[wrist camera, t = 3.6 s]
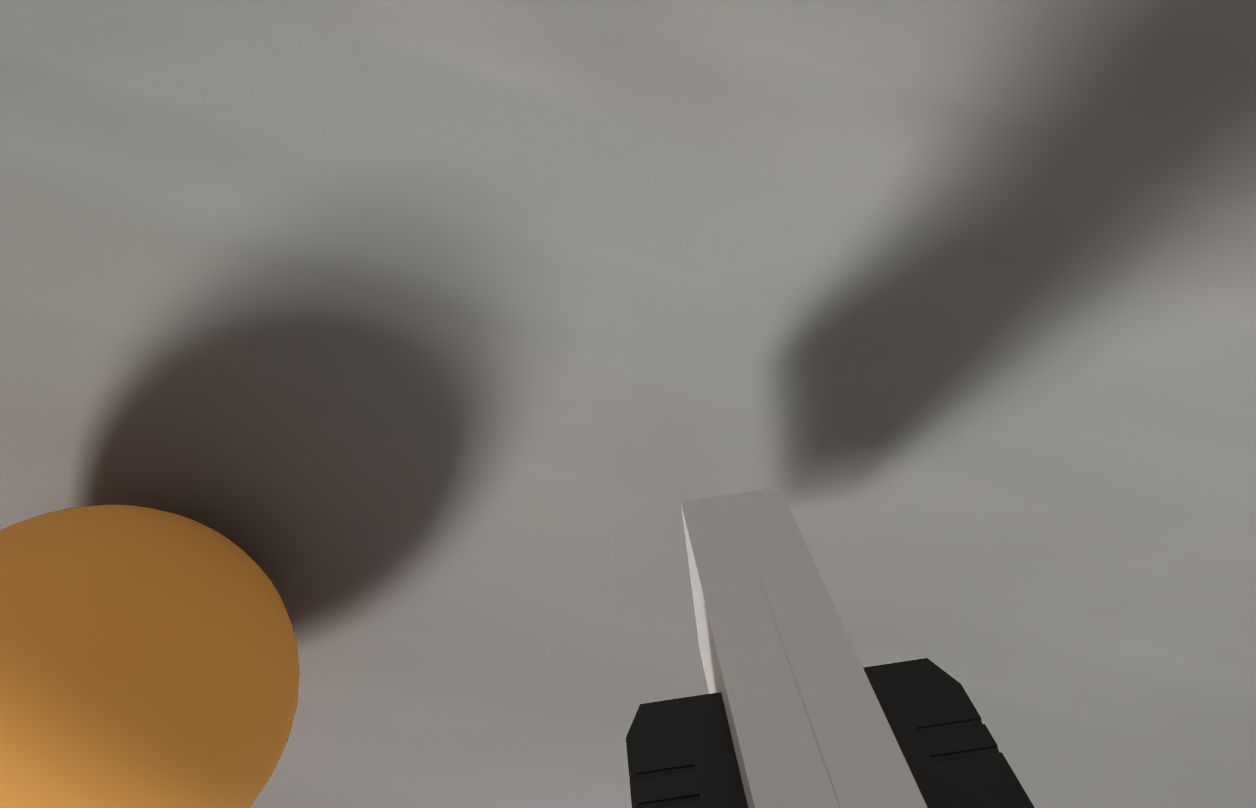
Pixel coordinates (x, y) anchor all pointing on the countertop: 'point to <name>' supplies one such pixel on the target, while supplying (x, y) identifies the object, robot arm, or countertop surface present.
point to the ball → (138, 664)
